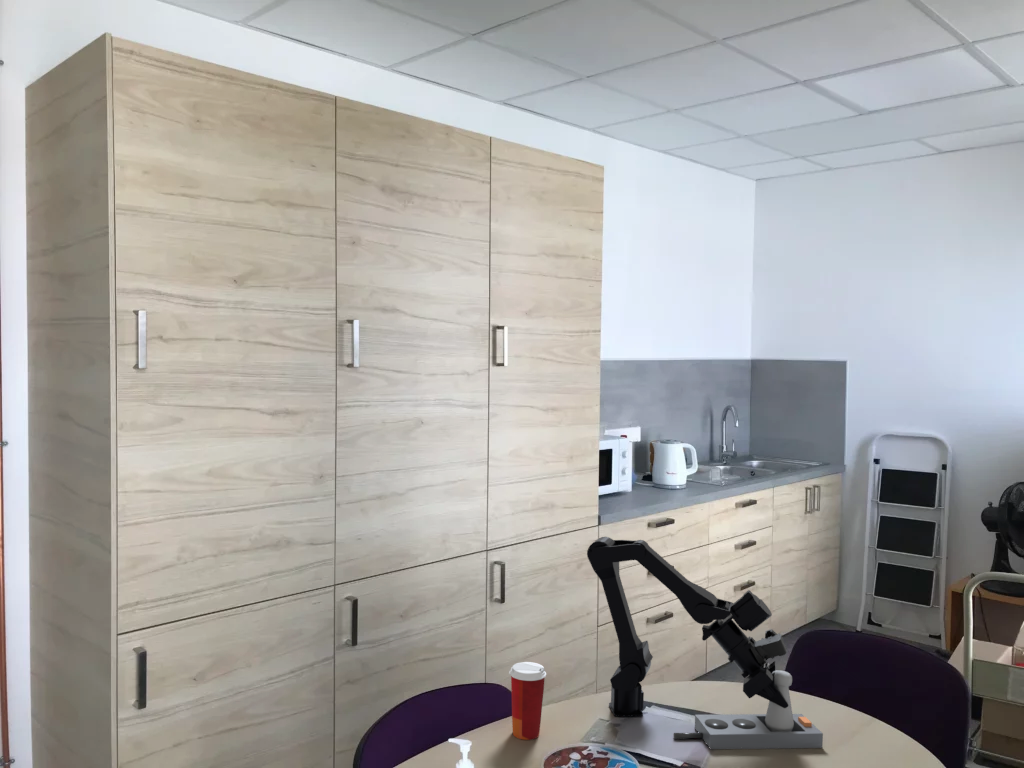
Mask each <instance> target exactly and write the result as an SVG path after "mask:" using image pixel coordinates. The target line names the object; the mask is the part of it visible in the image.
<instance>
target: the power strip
mask: <svg viewBox="0 0 1024 768" xmlns="http://www.w3.org/2000/svg"><path fill="white" fill-rule="evenodd" d="M792 714H793V721H794V726H793V729H792V731H791V732H770V731H769V730H768V729H767V726H766V723H765V718H766V713H756V714H755V713H747V714H744V713H743V714H742V713H740V714H737V713H735V714H734V713H733V714H731V713H730V714H725V713H724V714H694V729H696V730H697V731H698V732H699V733H698V732H697V731H696V730H695V731H696V732H673V733H672V735H673V736H672V737H673V739H674V738H675V739H674V740H686V739H685V738H703V739H704V741H705V742H706V743H707V745H708V746H709V747H710V748H711V749H710V750H749V749H750V750H752V749H753V750H755V749H760V750H761V749H763V750H764V749H765V750H766V749H822V748H823V741H824V740H823V739H824V738H823V736H824V733H823V732H822V731H821V730H820V729H819V728H817V727H816V726H815V725H814V723H813V722H812V721H811V720H809V719H808V718H807V717H806V716H805V715H804V714H802V713H792ZM683 738H684V739H683ZM703 739H702V740H703ZM704 741H703V742H704ZM705 742H704V743H705ZM706 743H705V744H706ZM707 745H706V746H707ZM708 746H707V747H708ZM709 747H708V748H709Z"/></svg>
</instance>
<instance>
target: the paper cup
mask: <svg viewBox="0 0 1024 768" xmlns="http://www.w3.org/2000/svg"><path fill="white" fill-rule="evenodd" d="M508 674H509V676H510V680H511V681H510V683H511V684H510V685H511V688H510V690H511V720H512V721H511V724H512V726H511V727H512V734H513V736H514V738H516V739H519V740H523V741H531V740H532V741H533V740H535V739H537V738H539V736H540V731H541V724H542V723H541V720H542V711H543V700H544V692H545V680H546V679H545V678H546V677H547V672H546V670H545V667H544V666H543V665H542V664H540V663H537V662H532V661H523V662H521V661H520V662H517V663H516V662H515V663H514V664H513V665H512V666H511V668H510V670H509V672H508Z"/></svg>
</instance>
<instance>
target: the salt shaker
mask: <svg viewBox="0 0 1024 768" xmlns="http://www.w3.org/2000/svg"><path fill="white" fill-rule="evenodd" d="M774 672H775V684H776V686H777V687H778V689H779V690H780V692H781V693H782V695H783V696H784V698H785V700H786V701H787V703H788V707H787V708H783V707H781V706H779V705H777V704H775V703H773V702H771V701H769V700H768V704H767V709H766V710H767V711H766V713H765V714H766V718H765V723H766V726H767V729H768V730H769V731H770V732H791V731H792V729H793V726H794V721H793V714H794V713H793V709H792V701H791V696H790V695H791V694H790V686H792V683H793V676H792V675H791V673H789V672H788V671H784V670H776V669H775V671H773V672H772V674H773V673H774Z"/></svg>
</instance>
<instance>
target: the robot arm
mask: <svg viewBox="0 0 1024 768" xmlns="http://www.w3.org/2000/svg"><path fill="white" fill-rule="evenodd" d="M586 552H587V553H586V555H587V559H588V562H589V563H590V565H591V567H592V570H593V572H594V573H595V575H596V576H597V577H598V578H599V580H600V582H601V585H602V588H603V593H604V595H605V598H606V601H607V606H608V609H609V612H610V616H611V619H612V622H613V626H614V629H615V633H616V636H617V639H618V640H617V641H618V660H619V661H618V662H619V665H618V666H617V669H615V671H614V673H613V675H612V676H611V678H610V683H611V689H610V691H611V692H610V693H611V694H610V702H609V703H608V707H609V709H610V711H611V712H612V714H613V716H614V717H643V716H644V713H643V710H644V701H645V700H644V698H645V694H644V691H643V689H642V685H641V682H643V681H644V680H645V678H646V676H647V674H648V673H649V670H650V668H651V666H652V660H653V658H654V656H653V654H652V653H651V651H650V646H649V641H648V640H645V641H642V640H641V639H640V637H639V636H638V634H637V631H636V627H635V623H634V620H633V617H632V614H631V610H630V607H629V603H628V600H627V597H626V593H625V589H624V586H623V583H622V580H621V575H620V562H627V561H637V562H638V564H640V565H641V566H642V567H643V568H645V570H647V571H648V572H649V573H650V574H651V575H652V576H653V577H654V578H656V579H657V580H658V581H659V582H660V583H661V584H662V585H664V586H665V588H667V589H668V590H669V591H670V592H671V593H673V594H674V595H675V597H676V598H677V599H678V600H679V602H680V603H681V606H682V607H683V609H684V610H685V611H686V613H688V615H689V616H690V617H691V619H692V620H693V621H694V622H696V623H697V624H700V625H702V627H701V630H702V637H701V640H702V641H703V642H705V641H706V640H708V639H710V638H711V637H712V638H713V639H714V640H715V642H716V643H717V644H718V645H719V647H720V648H721V649H722V650H723V651H724V652H725V654H726V655H728V657H727V660H728V661H729V662H730V663H732V662H733V663H734V664H735V665H736V666H737V667H738V669H739V670H740V671H741V676H742V677H743V678H744V679H743V684H742V692H743V693H744V695H746V696H747V698H748V699H751V698H753V697H754V696H755V695H756V696H758V697H761V698H763V699H765V700H767V701H768V702H769V701H771V702H773V703H775V704H777V705H779V706H781V707H783V708H787V707H788V703H787V701H786V700H785V698H784V696H783V695H782V693H781V692H780V690H779V689H778V687H777V686H776V684H775V672H774V673H773V674H772V672H773V671H776V667H777V663H776V661H775V660H774V661H773V662H772V663H769V662H767V661H768V660H769V659H775V657H776V658H777V657H782V656H785V655H787V653H788V652H787V646H786V643H785V641H784V637H783V636H782V634H780V632H779V633H776V631H775V630H774V629H771V628H770V629H768V630H765V634H764V635H765V636H764V637H762V638H761V639H760V640H755V639H754V638H753V637H751V636H747V635H746V634H745V633H744V631H746V632H747V631H750V632H752V631H754V630H755V629H756V628H758V627H759V626H760V625H762V624H763V623H764V622H766V621H767V620H768V619H769V618H771V617H772V616H773V613H772V612H771V610H770V608H769V607H768V605H767V604H766V603H765V602H764V601H763V599H761V598H759V596H757V595H756V594H754V593H753V592H752V591H751V590H749V589H748V590H747V591H745V592H744V593H743V595H742V596H741V597H739V599H737V600H736V601H735V602H733V601H732V602H731V601H729V600H725V599H720V598H718V597H717V596H716V595H715V594H714V593H712V592H710V591H709V590H707V589H706V588H704V587H703V586H700V585H698V584H696V583H693V582H692V581H690V580H689V579H688V578H686V577H685V576H684V574H683V575H682V573H680V572H679V570H677V569H676V568H675V567H673V565H671V564H670V563H669V562H668V561H667V560H666V559H664V558H663V556H661V555H660V554H659V553H658V552H657V551H655V550H654V549H653V548H652V547H651V546H650V544H649V543H648V542H647V541H645V540H644V539H637V540H629V539H613V538H611V537H609V536H601V537H599V538H597V539H596V540H595V541H593V542H592V543H591V544H590V545H589V547H587V550H586ZM710 623H711V624H710ZM742 630H743V631H742Z"/></svg>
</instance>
